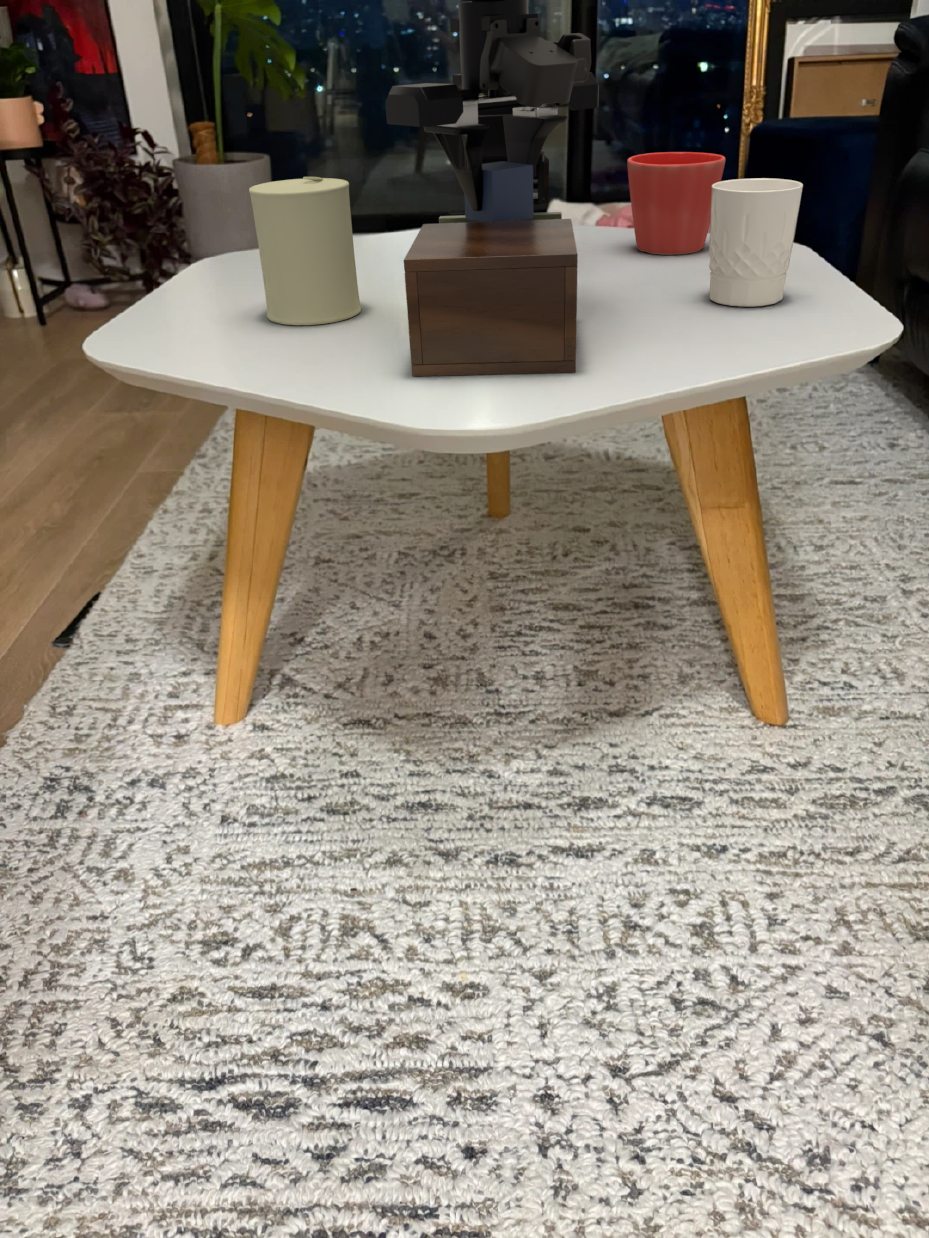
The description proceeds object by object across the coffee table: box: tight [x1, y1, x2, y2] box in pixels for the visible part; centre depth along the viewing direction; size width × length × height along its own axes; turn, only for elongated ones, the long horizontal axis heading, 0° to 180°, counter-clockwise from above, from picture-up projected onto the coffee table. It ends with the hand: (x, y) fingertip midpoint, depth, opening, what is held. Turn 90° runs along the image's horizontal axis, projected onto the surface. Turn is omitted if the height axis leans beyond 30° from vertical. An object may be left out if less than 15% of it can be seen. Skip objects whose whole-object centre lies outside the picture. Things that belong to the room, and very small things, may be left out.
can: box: [248, 176, 362, 326], centre depth 92 cm, size 9×9×12 cm
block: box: [463, 161, 534, 222], centre depth 87 cm, size 4×4×4 cm
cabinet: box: [403, 218, 579, 377], centre depth 80 cm, size 15×13×9 cm
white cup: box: [708, 177, 804, 308], centre depth 90 cm, size 8×8×10 cm
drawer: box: [438, 211, 563, 224], centre depth 91 cm, size 18×12×7 cm, turn 177°
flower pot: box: [626, 151, 726, 256], centre depth 111 cm, size 11×11×10 cm
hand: (498, 207), depth 87 cm, fingers closed on block, 4 cm apart
